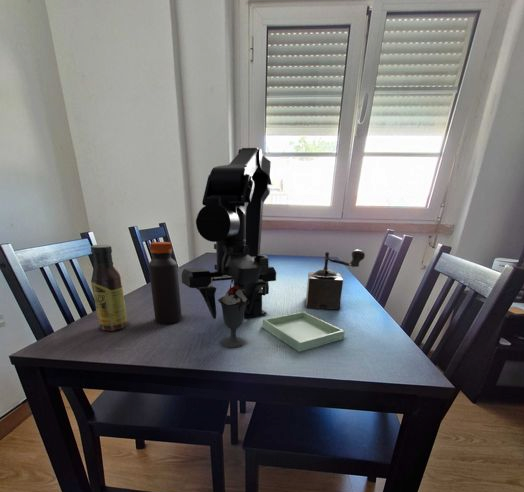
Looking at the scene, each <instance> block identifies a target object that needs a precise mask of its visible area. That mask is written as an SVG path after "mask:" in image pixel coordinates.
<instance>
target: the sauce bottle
mask: <svg viewBox="0 0 524 492" xmlns="http://www.w3.org/2000/svg"><path fill="white" fill-rule="evenodd" d="M90 252H91V254H92V258H93V269H92V275H91V279H90V280H91V281H90V283H91V288H92V289H91V290H92V294H93V300H94V306H95V310H96V316H97V321H98V324H99V327H100V329H101V330H102V331H107V332H113V331H119V330H122V329H124V328H126V327H127V326H128V323H127V321H128V317H127V310H126V303H125V296H124V288H123V285H122V279H121V275H120V272H119V271H118V270H117V269H116V268H115V266H114V261H113V255H112V252H113V248H112V245H109V244H93V245H91V246H90Z"/></svg>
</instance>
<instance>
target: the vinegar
mask: <svg viewBox="0 0 524 492" xmlns="http://www.w3.org/2000/svg"><path fill="white" fill-rule="evenodd" d="M149 247H150V254H151V255H152V259H151V260H150V261H149V262H148V272H149V280H150V290H151V296H152V297H151V298H152V306H153V312H154V321H155V322H156V323H158V324H162V325H169V324H175V323H178V322H180V321H182V318H183V316H182V304H181V293H180V283H179V282H180V281H179V271H178V270H179V269H178V263H177V261H176V260H175V259H173V258H172V254H173V245H172V243H171V242H169V241H153V242H150V243H149Z"/></svg>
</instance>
